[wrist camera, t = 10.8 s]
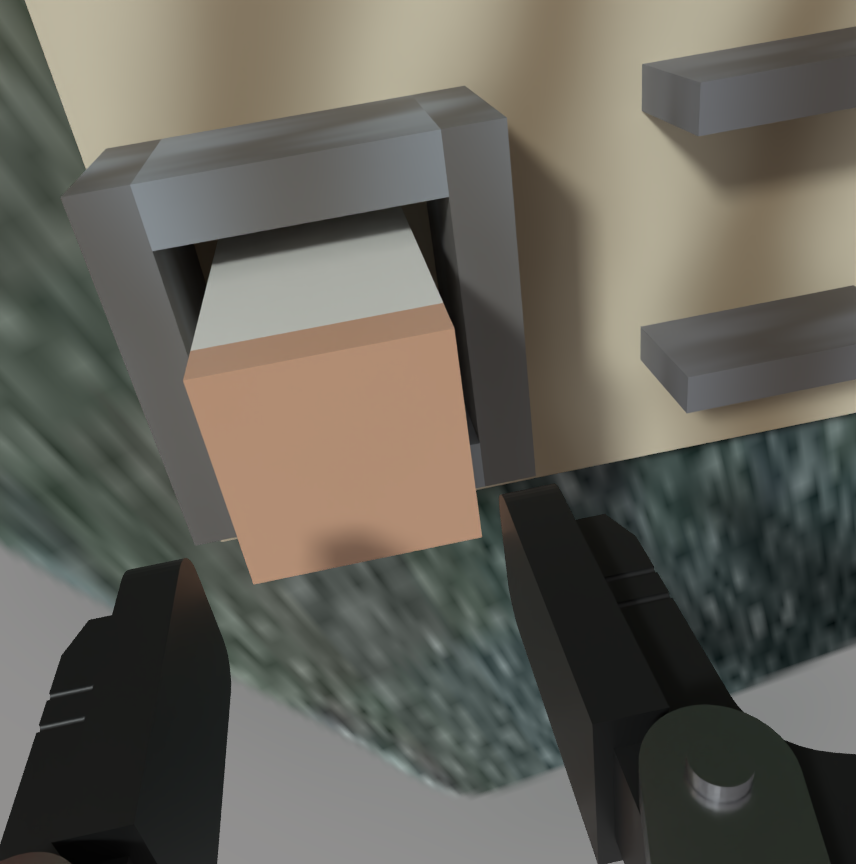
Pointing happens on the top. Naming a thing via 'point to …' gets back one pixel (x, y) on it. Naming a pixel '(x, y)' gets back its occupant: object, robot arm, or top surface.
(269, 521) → the plug
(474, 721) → the top surface
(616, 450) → the panel
